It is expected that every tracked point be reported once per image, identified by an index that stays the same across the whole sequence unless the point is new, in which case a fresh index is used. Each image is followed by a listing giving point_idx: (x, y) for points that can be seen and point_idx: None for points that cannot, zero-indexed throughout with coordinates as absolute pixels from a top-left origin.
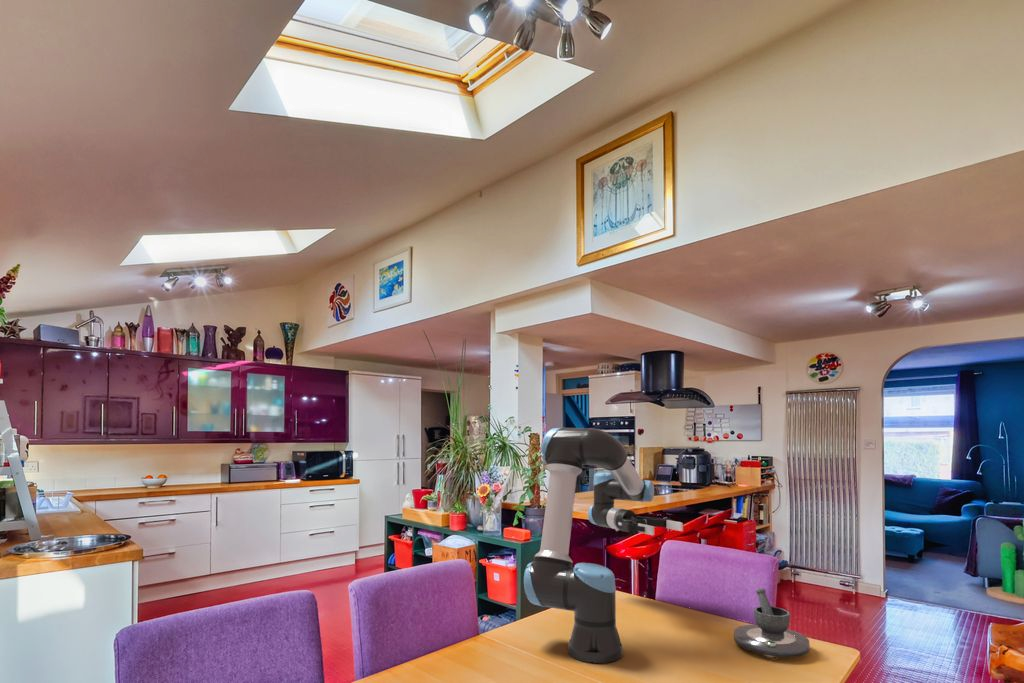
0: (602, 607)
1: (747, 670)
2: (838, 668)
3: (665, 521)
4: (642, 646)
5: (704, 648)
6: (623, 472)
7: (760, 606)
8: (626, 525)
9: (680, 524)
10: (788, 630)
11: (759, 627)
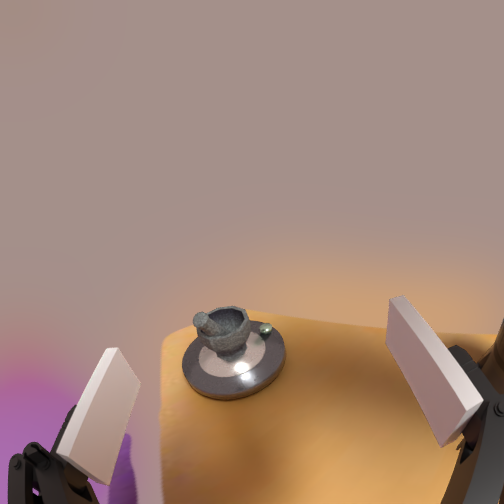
0: None
1: (325, 329)
2: None
3: (64, 477)
4: None
5: (328, 391)
6: None
7: (213, 338)
8: None
9: (120, 360)
10: (187, 358)
11: (208, 378)
